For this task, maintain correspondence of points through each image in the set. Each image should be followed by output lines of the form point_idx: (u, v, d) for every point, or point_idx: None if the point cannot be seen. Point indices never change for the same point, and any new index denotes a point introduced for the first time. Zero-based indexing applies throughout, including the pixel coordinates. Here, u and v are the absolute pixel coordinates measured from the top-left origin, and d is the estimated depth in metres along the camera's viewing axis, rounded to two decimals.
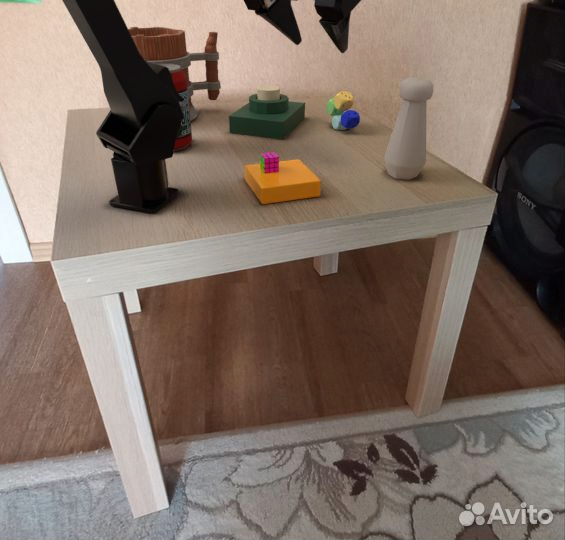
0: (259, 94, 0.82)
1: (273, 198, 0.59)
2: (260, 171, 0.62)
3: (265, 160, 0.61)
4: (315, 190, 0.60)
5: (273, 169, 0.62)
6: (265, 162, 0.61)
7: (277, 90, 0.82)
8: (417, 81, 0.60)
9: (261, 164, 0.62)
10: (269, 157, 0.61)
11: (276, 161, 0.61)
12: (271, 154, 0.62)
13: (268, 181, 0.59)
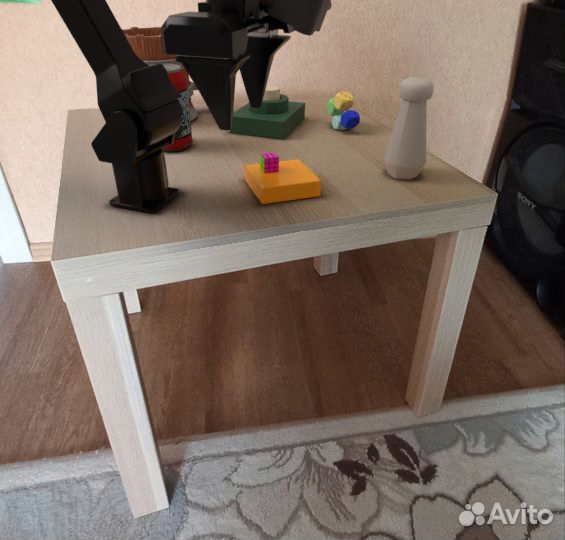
0: None
1: (273, 198, 0.59)
2: (260, 171, 0.62)
3: (265, 160, 0.61)
4: (315, 190, 0.60)
5: (273, 169, 0.62)
6: (265, 162, 0.61)
7: (277, 90, 0.82)
8: (417, 81, 0.60)
9: (261, 164, 0.62)
10: (269, 157, 0.61)
11: (276, 161, 0.61)
12: (271, 154, 0.62)
13: (268, 181, 0.59)
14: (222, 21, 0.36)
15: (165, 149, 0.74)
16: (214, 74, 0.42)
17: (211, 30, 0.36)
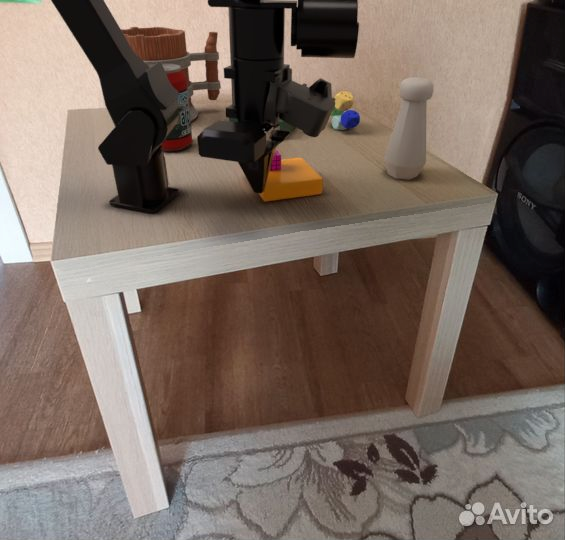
0: None
1: (275, 195, 0.60)
2: None
3: None
4: (317, 187, 0.61)
5: (275, 167, 0.62)
6: None
7: None
8: (417, 81, 0.60)
9: None
10: None
11: (278, 159, 0.62)
12: None
13: (270, 178, 0.60)
14: (247, 136, 0.45)
15: (165, 149, 0.74)
16: None
17: (238, 143, 0.45)
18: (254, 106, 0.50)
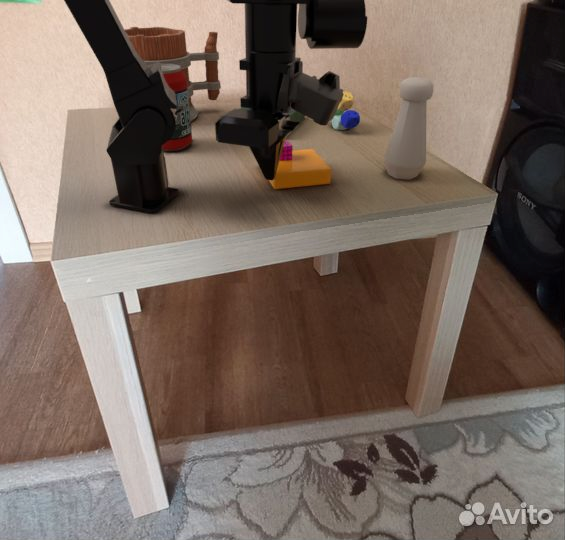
0: None
1: (285, 184, 0.63)
2: None
3: None
4: (326, 177, 0.64)
5: (287, 157, 0.65)
6: None
7: None
8: (417, 81, 0.60)
9: None
10: None
11: (290, 149, 0.65)
12: (285, 143, 0.65)
13: (281, 167, 0.63)
14: (262, 122, 0.49)
15: (165, 149, 0.74)
16: None
17: (253, 129, 0.49)
18: (268, 96, 0.53)
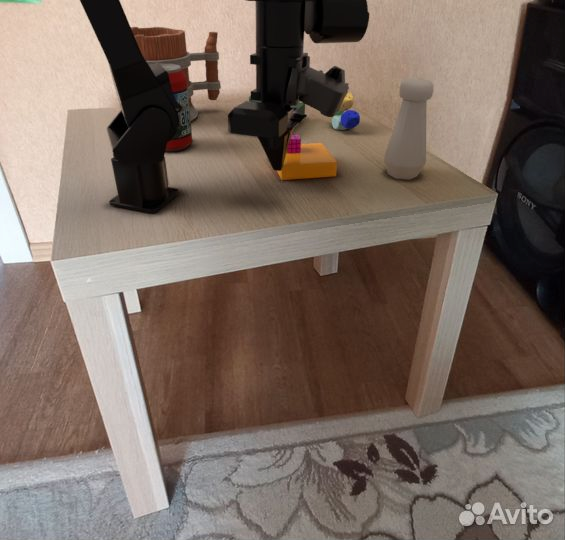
0: None
1: (292, 175, 0.65)
2: None
3: None
4: (332, 170, 0.66)
5: (295, 150, 0.68)
6: None
7: None
8: (417, 81, 0.60)
9: None
10: (292, 138, 0.67)
11: (298, 142, 0.67)
12: (294, 136, 0.68)
13: (289, 159, 0.66)
14: (273, 113, 0.51)
15: None
16: None
17: (265, 119, 0.51)
18: (277, 89, 0.56)
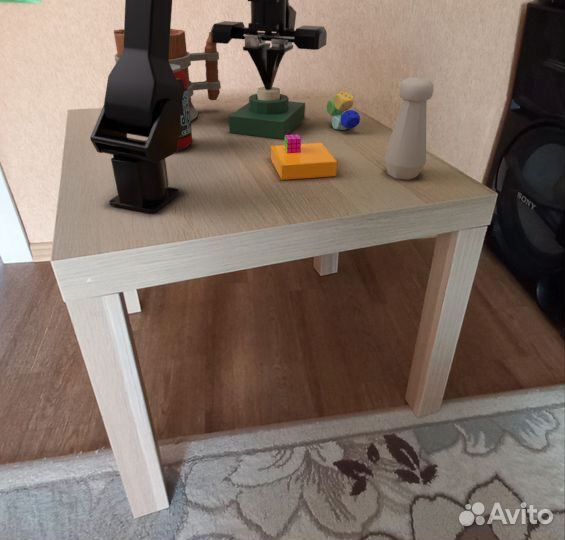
0: (259, 95, 0.82)
1: (292, 175, 0.65)
2: (283, 151, 0.68)
3: (288, 141, 0.67)
4: (332, 170, 0.66)
5: (295, 149, 0.68)
6: (288, 143, 0.67)
7: (277, 91, 0.82)
8: (417, 81, 0.60)
9: (285, 145, 0.69)
10: (292, 138, 0.67)
11: (298, 142, 0.67)
12: (294, 136, 0.68)
13: (289, 159, 0.66)
14: (323, 27, 0.77)
15: None
16: None
17: (325, 32, 0.76)
18: (285, 18, 0.76)
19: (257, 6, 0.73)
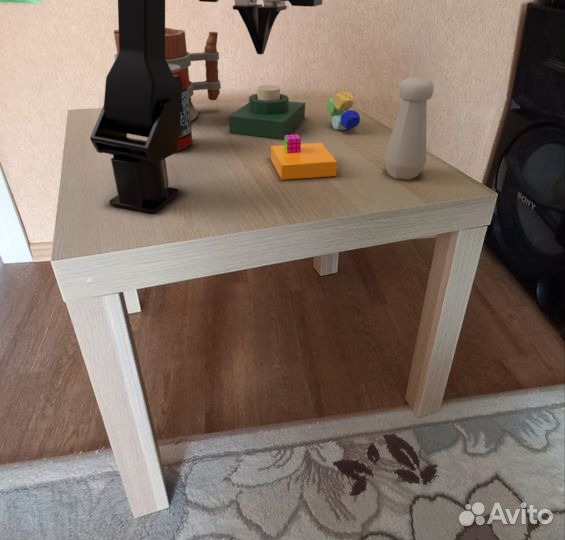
0: (259, 94, 0.82)
1: (292, 175, 0.65)
2: (283, 151, 0.68)
3: (288, 141, 0.67)
4: (332, 170, 0.66)
5: (295, 149, 0.68)
6: (288, 143, 0.67)
7: (277, 90, 0.82)
8: (417, 81, 0.60)
9: (285, 145, 0.69)
10: (292, 138, 0.67)
11: (298, 142, 0.67)
12: (294, 136, 0.68)
13: (289, 159, 0.66)
14: None
15: None
16: None
17: None
18: None
19: None
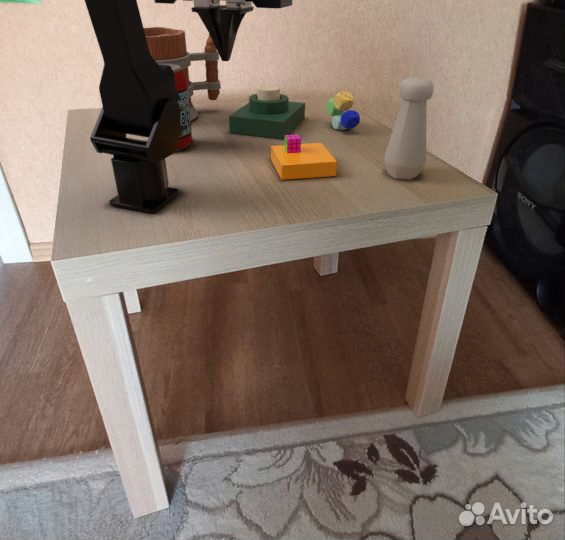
0: (259, 94, 0.82)
1: (292, 175, 0.65)
2: (283, 151, 0.68)
3: (288, 141, 0.67)
4: (332, 170, 0.66)
5: (295, 149, 0.68)
6: (288, 143, 0.67)
7: (277, 90, 0.82)
8: (417, 81, 0.60)
9: (285, 145, 0.69)
10: (292, 138, 0.67)
11: (298, 142, 0.67)
12: (294, 136, 0.68)
13: (289, 159, 0.66)
14: None
15: None
16: (232, 21, 0.66)
17: None
18: None
19: None
